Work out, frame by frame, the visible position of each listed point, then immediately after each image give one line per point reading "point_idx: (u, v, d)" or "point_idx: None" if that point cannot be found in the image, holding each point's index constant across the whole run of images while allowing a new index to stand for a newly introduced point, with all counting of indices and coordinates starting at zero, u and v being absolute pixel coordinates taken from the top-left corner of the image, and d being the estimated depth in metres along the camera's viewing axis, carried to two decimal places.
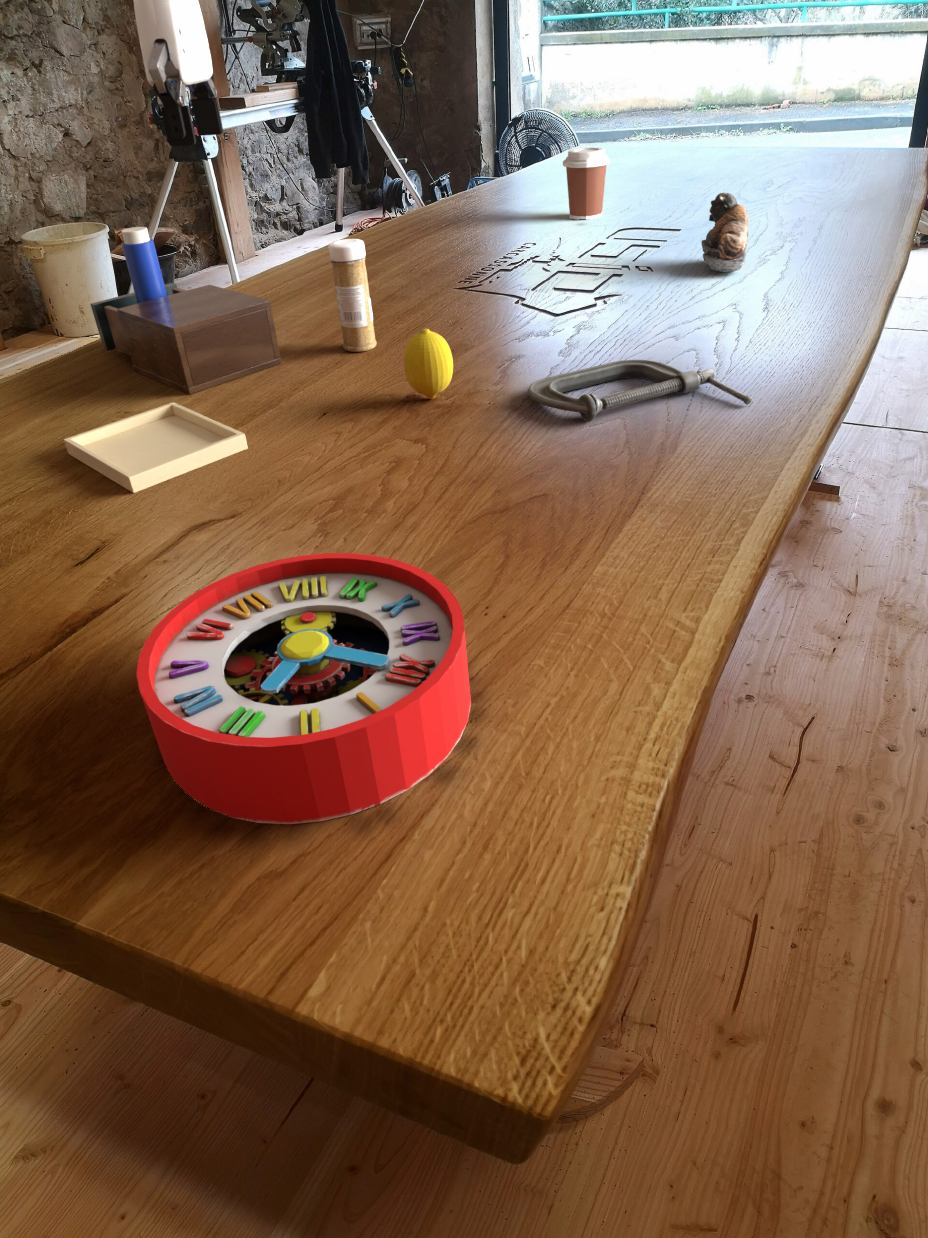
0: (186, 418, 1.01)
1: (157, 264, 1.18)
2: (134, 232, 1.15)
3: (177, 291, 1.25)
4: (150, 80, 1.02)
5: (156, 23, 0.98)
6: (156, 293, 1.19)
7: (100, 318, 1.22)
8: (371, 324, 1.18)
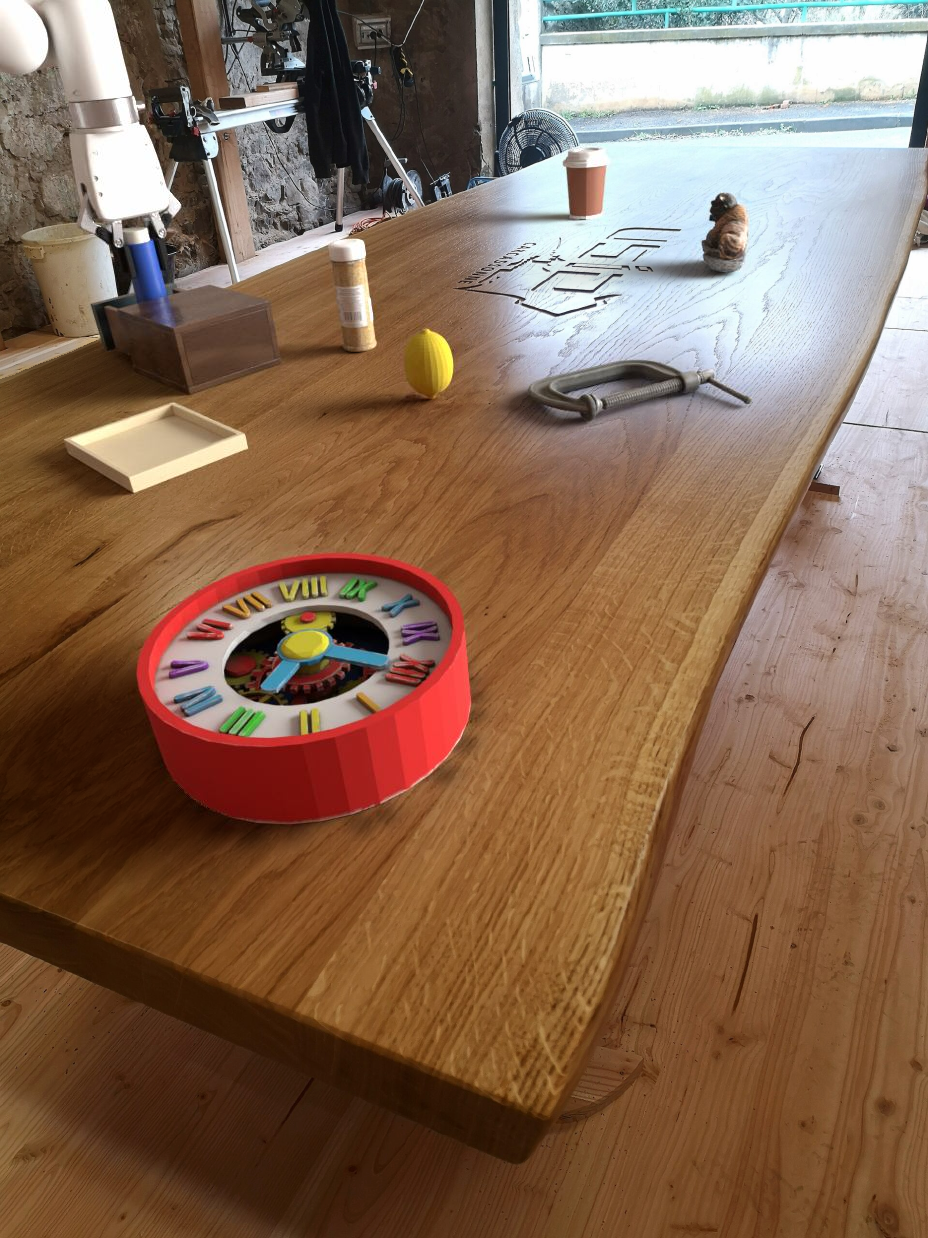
0: (186, 418, 1.01)
1: (157, 264, 1.18)
2: (134, 232, 1.15)
3: (177, 291, 1.25)
4: None
5: (79, 170, 1.09)
6: (157, 293, 1.19)
7: (100, 318, 1.22)
8: (371, 324, 1.18)
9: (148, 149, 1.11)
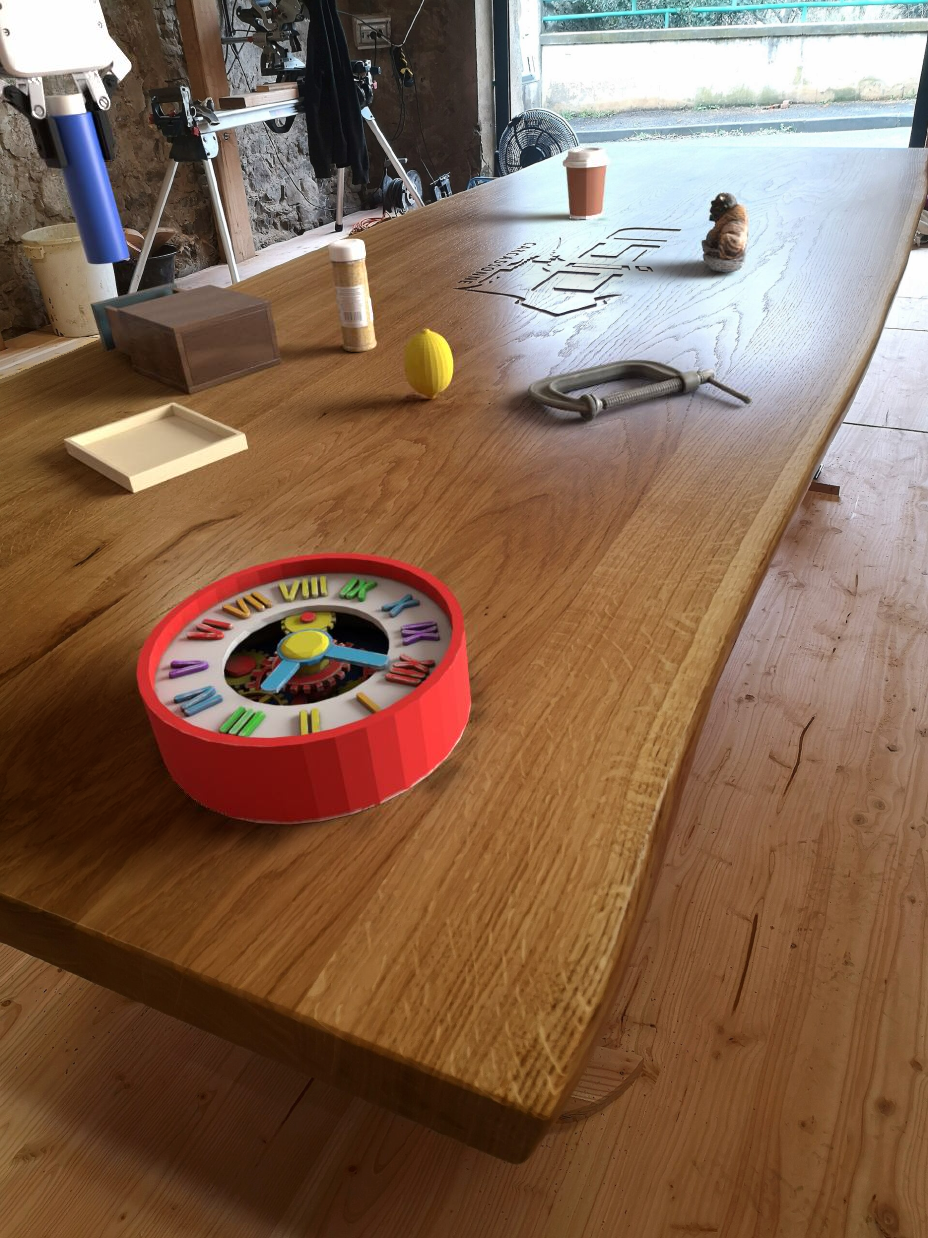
0: (186, 418, 1.01)
1: (98, 149, 0.82)
2: (62, 97, 0.79)
3: (177, 291, 1.25)
4: None
5: None
6: (98, 192, 0.83)
7: (100, 318, 1.22)
8: (371, 324, 1.18)
9: None
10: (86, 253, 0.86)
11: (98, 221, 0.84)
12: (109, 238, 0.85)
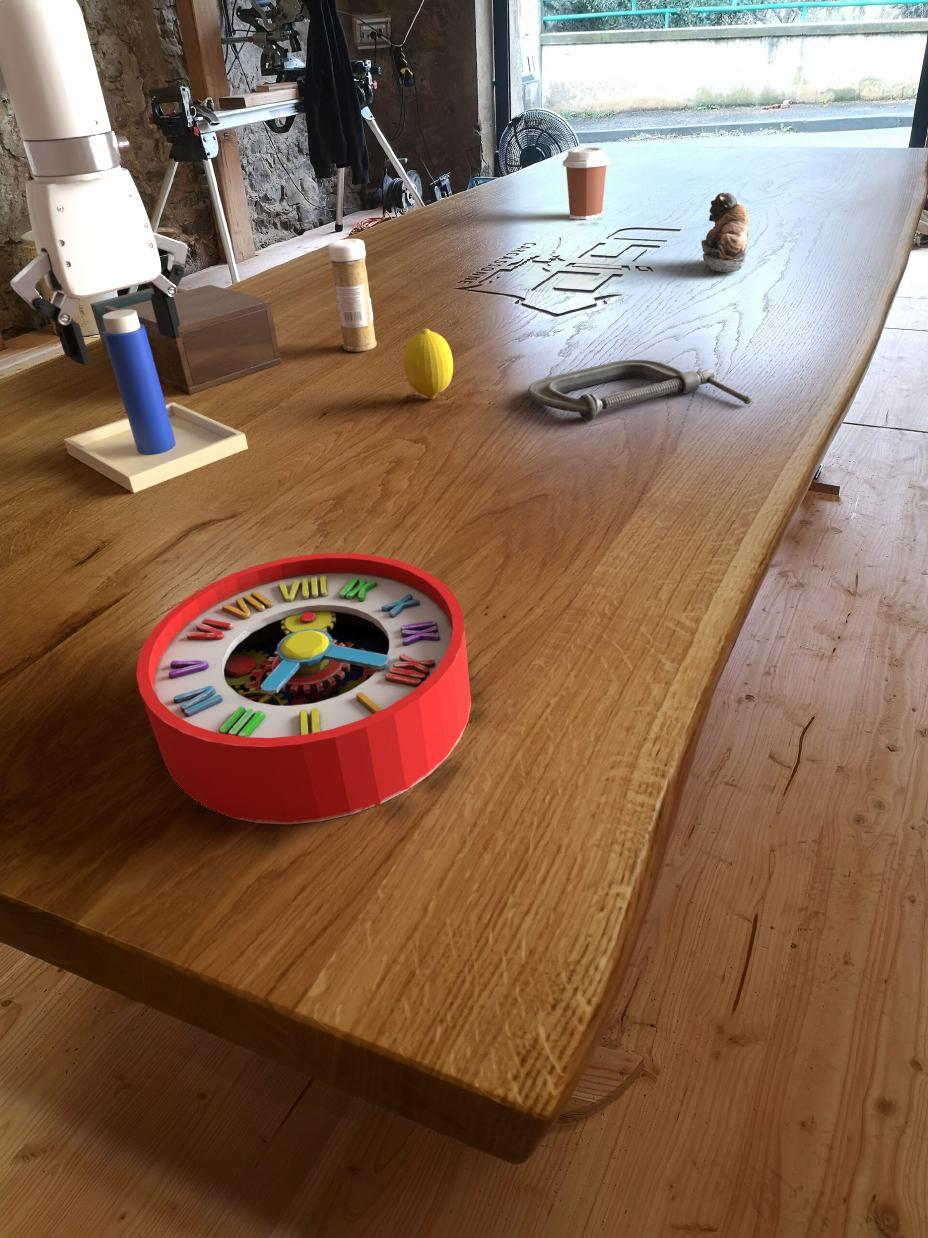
0: (186, 418, 1.01)
1: (150, 358, 0.90)
2: (119, 319, 0.86)
3: (177, 291, 1.25)
4: (49, 288, 0.85)
5: (39, 231, 0.80)
6: (149, 395, 0.91)
7: (100, 318, 1.22)
8: (371, 324, 1.18)
9: (133, 202, 0.83)
10: (136, 444, 0.94)
11: (148, 419, 0.92)
12: (158, 433, 0.93)
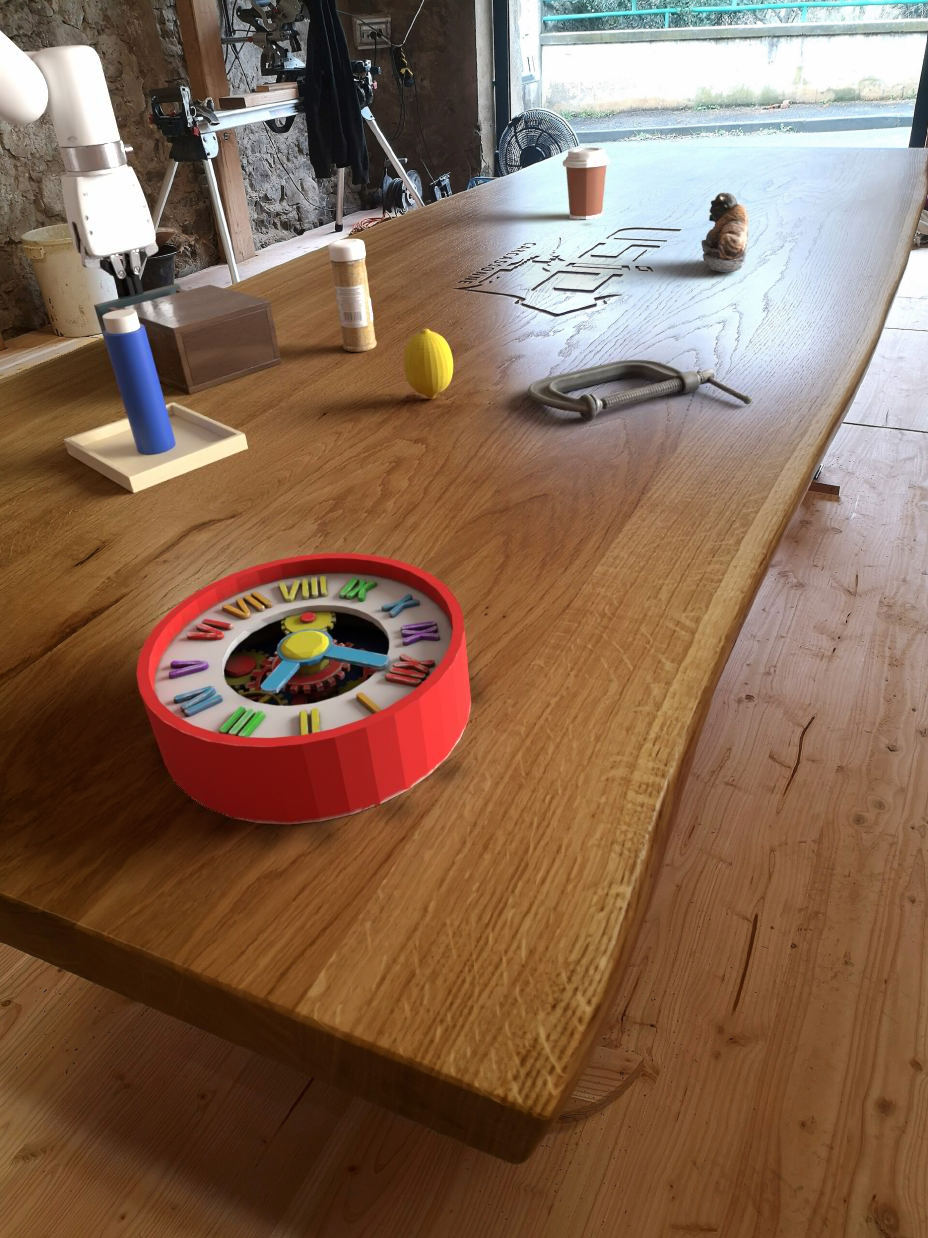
0: (186, 418, 1.01)
1: (150, 358, 0.90)
2: (119, 319, 0.86)
3: None
4: (76, 250, 1.20)
5: (70, 210, 1.16)
6: (149, 395, 0.91)
7: None
8: (371, 324, 1.18)
9: (135, 189, 1.18)
10: (136, 444, 0.94)
11: (148, 419, 0.92)
12: (158, 433, 0.93)
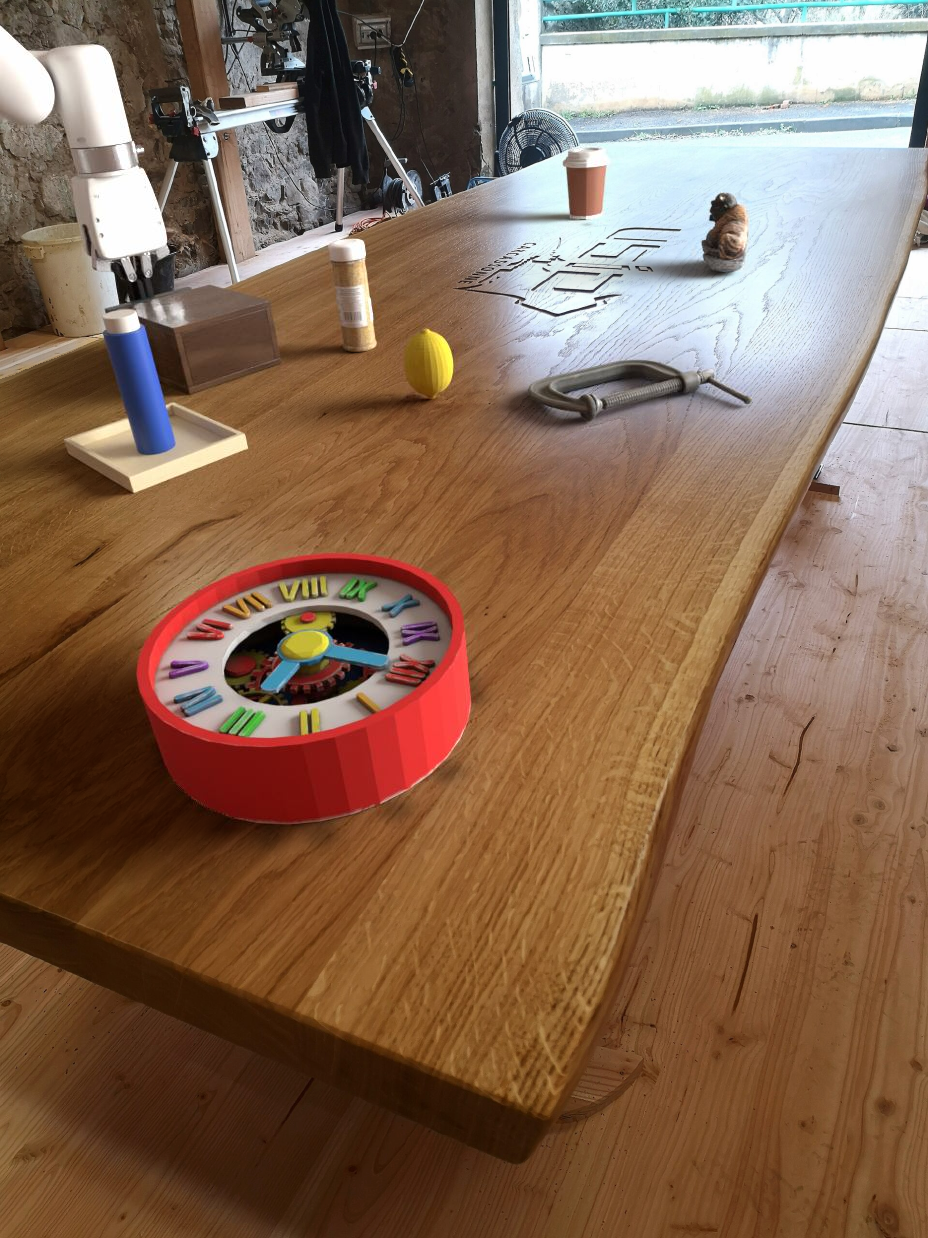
0: (186, 418, 1.01)
1: (150, 358, 0.90)
2: (119, 319, 0.86)
3: None
4: (87, 253, 1.18)
5: (81, 212, 1.14)
6: (149, 395, 0.91)
7: None
8: (371, 324, 1.18)
9: (147, 191, 1.16)
10: (136, 444, 0.94)
11: (148, 419, 0.92)
12: (158, 433, 0.93)
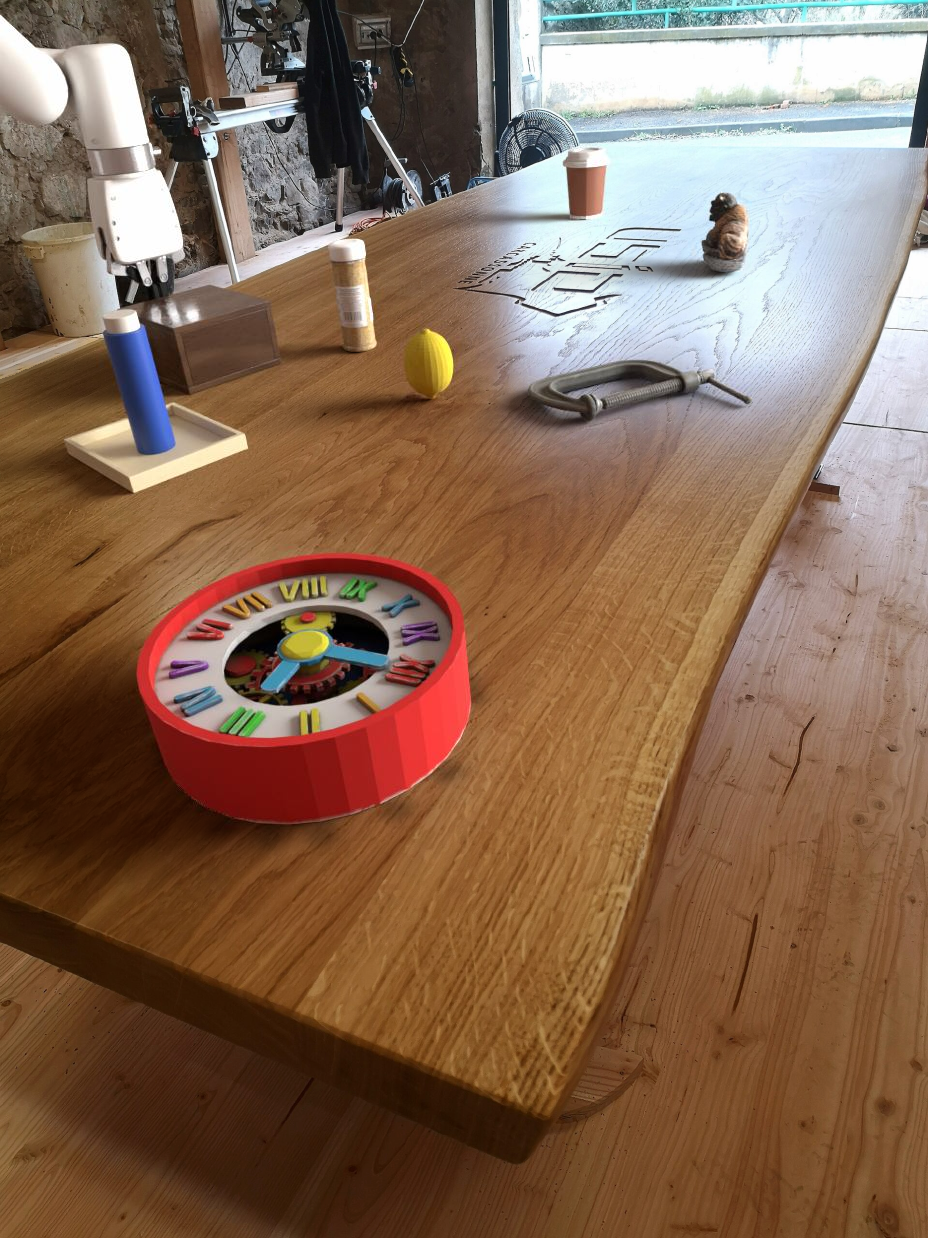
0: (186, 418, 1.01)
1: (150, 358, 0.90)
2: (119, 319, 0.86)
3: None
4: (101, 257, 1.15)
5: (96, 214, 1.11)
6: (149, 395, 0.91)
7: None
8: (371, 324, 1.18)
9: (164, 194, 1.14)
10: (136, 444, 0.94)
11: (148, 419, 0.92)
12: (158, 433, 0.93)
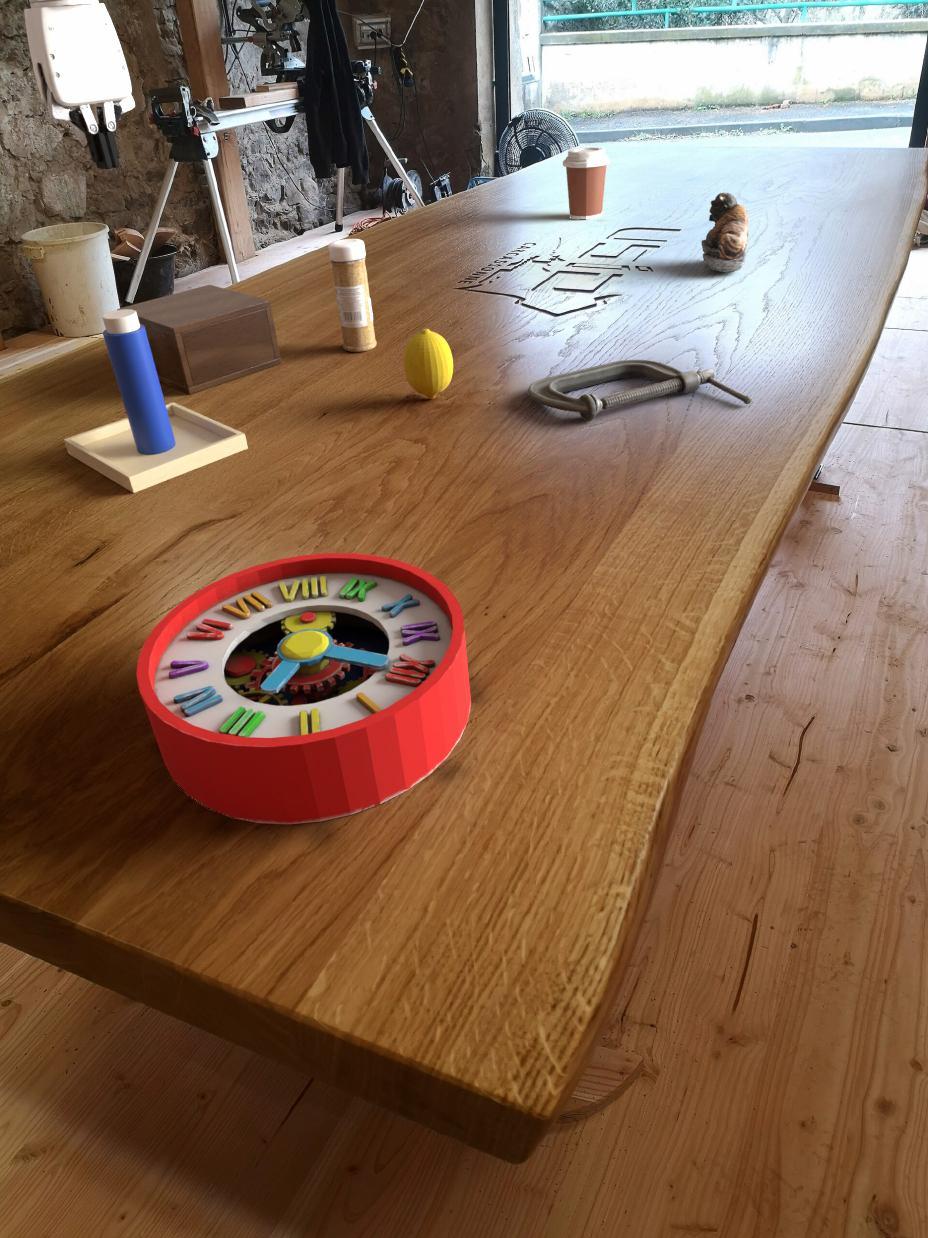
0: (186, 418, 1.01)
1: (150, 358, 0.90)
2: (119, 319, 0.86)
3: None
4: (43, 100, 1.08)
5: (34, 48, 1.03)
6: (149, 395, 0.91)
7: None
8: (371, 324, 1.18)
9: (108, 29, 1.06)
10: (136, 444, 0.94)
11: (148, 419, 0.92)
12: (158, 433, 0.93)
